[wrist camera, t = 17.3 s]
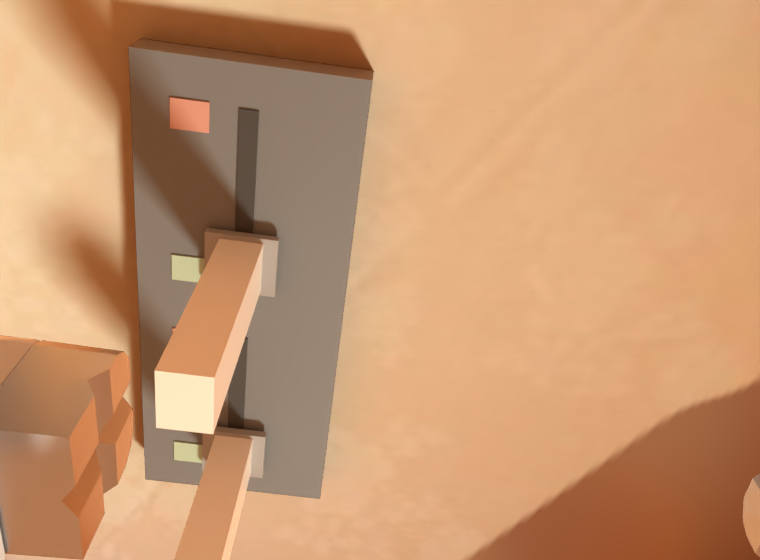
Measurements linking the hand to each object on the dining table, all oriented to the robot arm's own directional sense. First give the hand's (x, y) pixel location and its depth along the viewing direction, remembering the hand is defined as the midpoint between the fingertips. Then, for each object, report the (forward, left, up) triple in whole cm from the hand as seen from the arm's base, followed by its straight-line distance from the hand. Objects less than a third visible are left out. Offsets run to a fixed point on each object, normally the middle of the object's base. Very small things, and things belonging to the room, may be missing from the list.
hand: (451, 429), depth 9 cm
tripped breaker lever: (+8, -14, -29) cm, 33 cm away
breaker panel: (+11, -16, -31) cm, 36 cm away
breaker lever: (+20, -21, -29) cm, 41 cm away
